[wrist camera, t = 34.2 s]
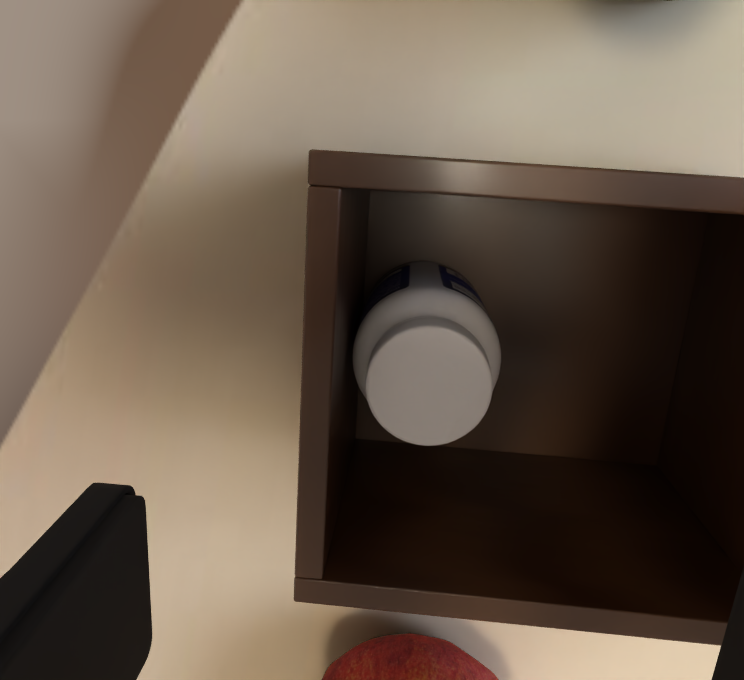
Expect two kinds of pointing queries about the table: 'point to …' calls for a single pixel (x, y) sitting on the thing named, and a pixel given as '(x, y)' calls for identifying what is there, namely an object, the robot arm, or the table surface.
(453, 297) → the pill bottle
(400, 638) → the fruit
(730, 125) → the table surface
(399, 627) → the table surface
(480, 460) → the chest
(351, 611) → the table surface
